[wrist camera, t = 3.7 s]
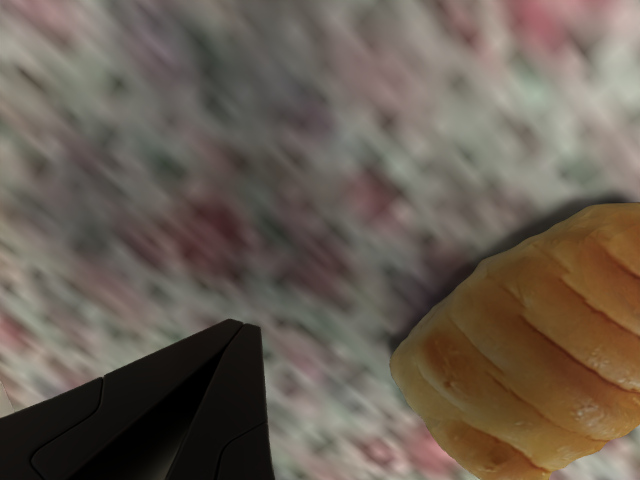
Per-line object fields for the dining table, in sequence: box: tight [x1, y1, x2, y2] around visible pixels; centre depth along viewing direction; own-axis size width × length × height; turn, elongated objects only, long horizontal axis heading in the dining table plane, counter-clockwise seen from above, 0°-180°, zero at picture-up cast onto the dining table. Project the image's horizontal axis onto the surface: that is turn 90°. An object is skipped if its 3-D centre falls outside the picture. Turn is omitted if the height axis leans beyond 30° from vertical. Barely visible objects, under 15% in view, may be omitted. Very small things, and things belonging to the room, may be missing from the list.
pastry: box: [390, 202, 640, 480], centre depth 10 cm, size 9×7×4 cm
